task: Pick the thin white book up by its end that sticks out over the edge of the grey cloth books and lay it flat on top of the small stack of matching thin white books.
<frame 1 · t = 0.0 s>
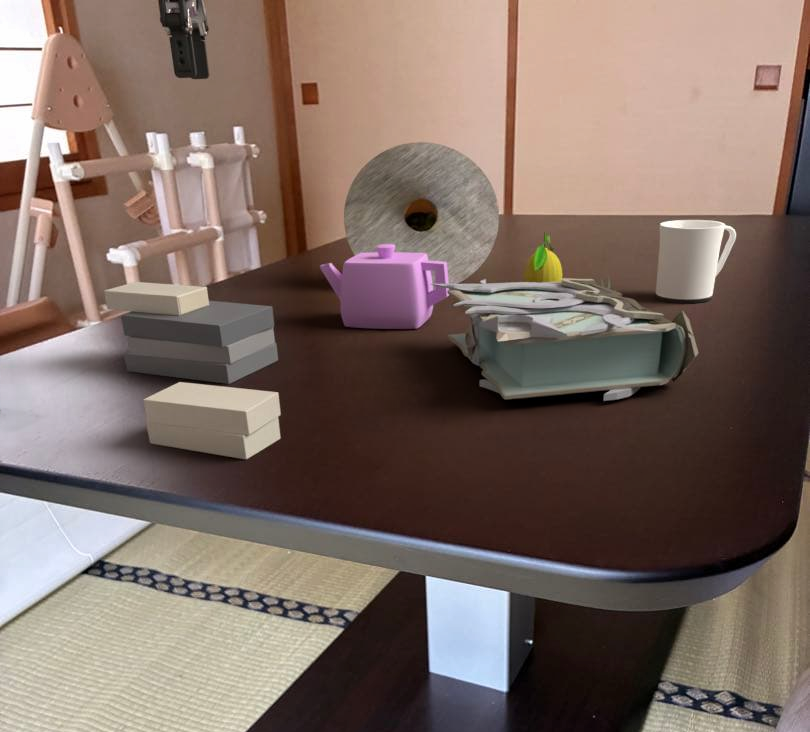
hand: (193, 78, 92), 30 cm above the table, tool pointing down, fingers open, 8 cm apart
white book: (158, 307, 100), point 7 cm above the table, touching grey stack
lemon: (541, 303, 125), on the table
teapot: (386, 322, 118), on the table
disc: (424, 281, 143), on the table
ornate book: (548, 368, 96), on the table
mug: (690, 298, 124), on the table
grey stack: (203, 365, 101), on the table
white stack: (215, 441, 78), on the table
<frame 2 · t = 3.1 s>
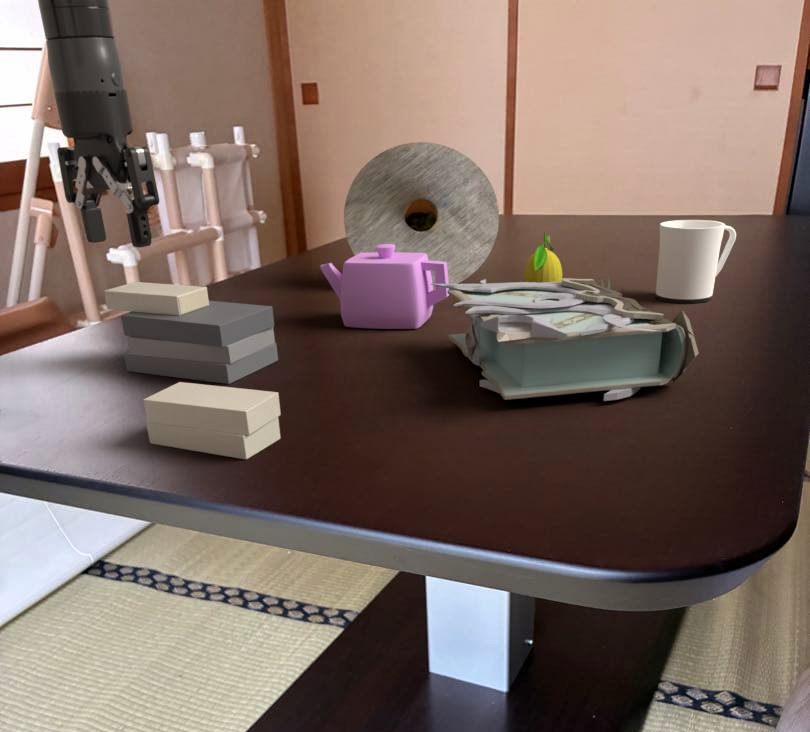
hand: (119, 244, 98), 14 cm above the table, tool pointing down, fingers open, 8 cm apart
nothing on the table moved.
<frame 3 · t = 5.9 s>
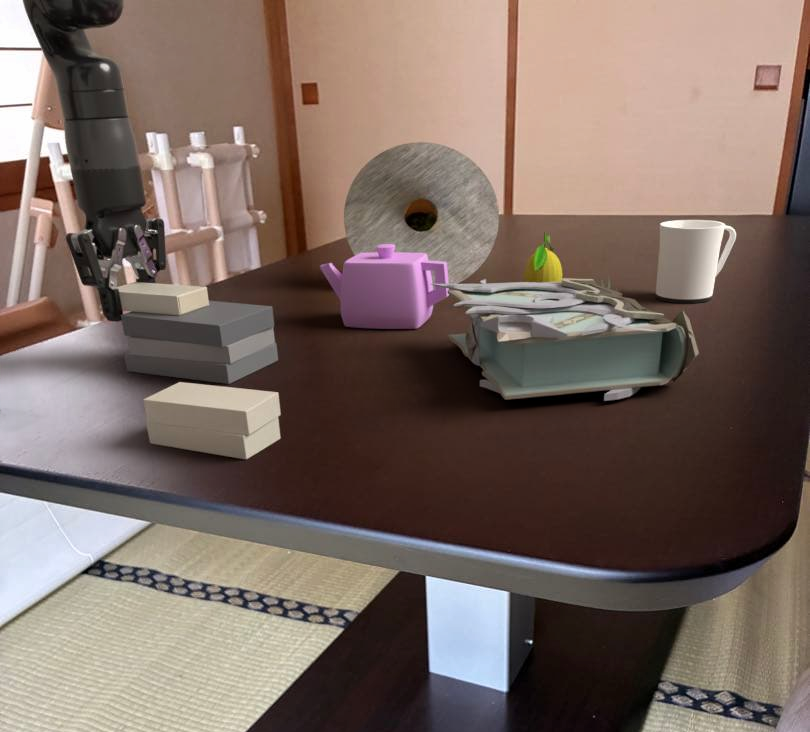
hand: (133, 314, 102), 6 cm above the table, tool pointing down, fingers closed on white book, 5 cm apart
white book: (158, 307, 100), point 7 cm above the table, touching grey stack, gripper
everything else where it was.
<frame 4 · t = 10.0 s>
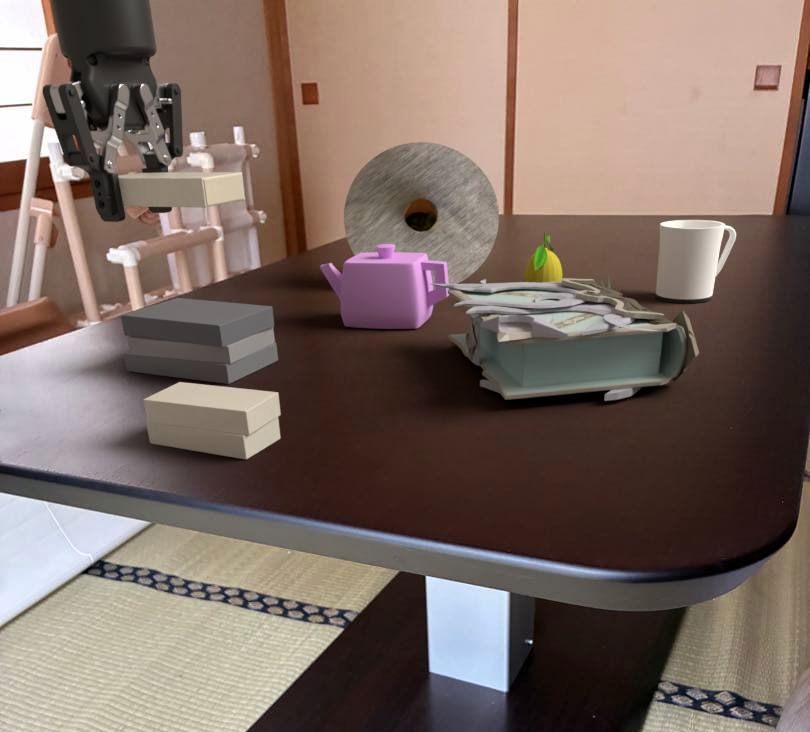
hand: (138, 215, 74), 19 cm above the table, tool pointing down, fingers closed on white book, 5 cm apart
white book: (173, 203, 72), point 20 cm above the table, touching gripper
everything else where it was.
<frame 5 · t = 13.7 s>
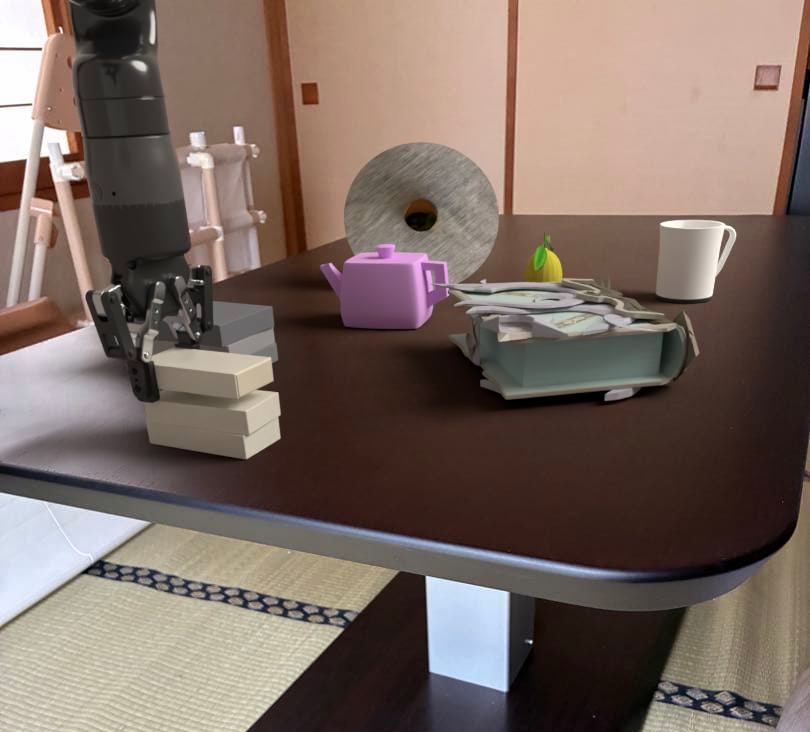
hand: (171, 390, 78), 4 cm above the table, tool pointing down, fingers closed on white book, 5 cm apart
white book: (206, 383, 75), point 6 cm above the table, touching gripper
everything else where it was.
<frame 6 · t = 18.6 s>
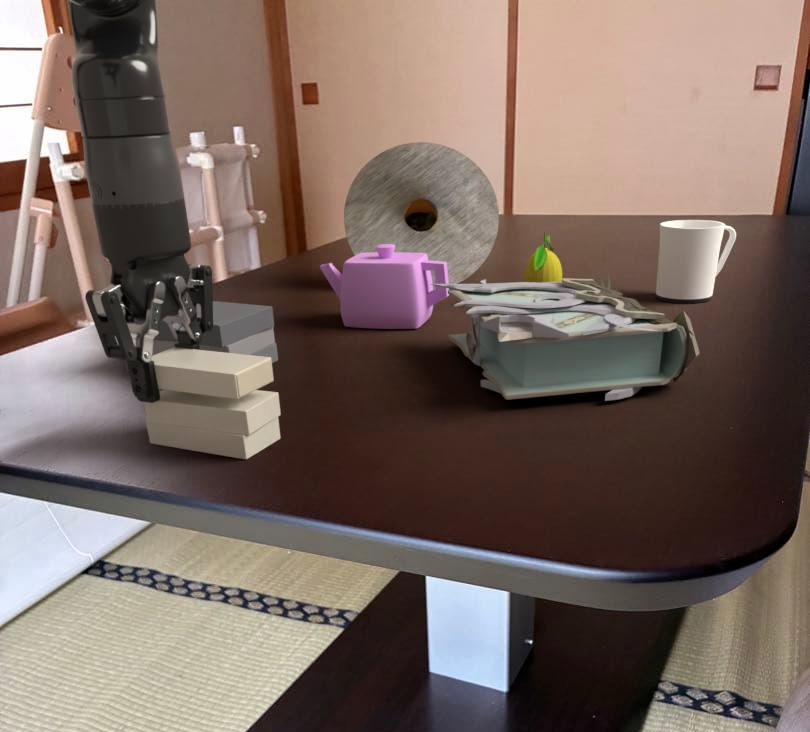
hand: (171, 390, 78), 4 cm above the table, tool pointing down, fingers closed on white book, 5 cm apart
white book: (206, 383, 76), point 6 cm above the table, touching gripper
everything else where it was.
when the fingers open (6 cm above the table, at t = 22.9 s): white book drops 2 cm, resting on white stack.
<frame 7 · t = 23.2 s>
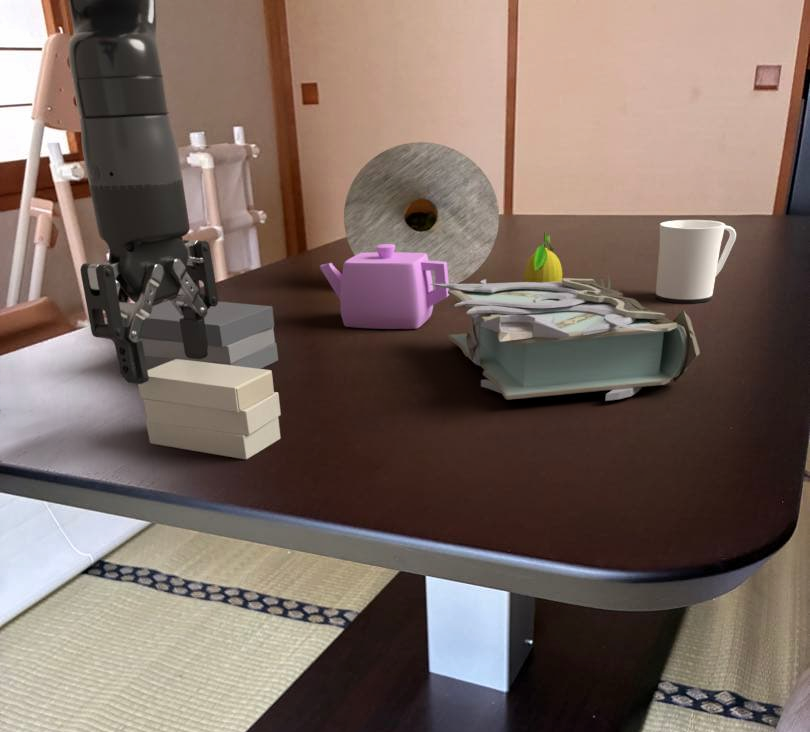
hand: (168, 369, 77), 6 cm above the table, tool pointing down, fingers open, 8 cm apart
white book: (207, 395, 76), point 4 cm above the table, touching white stack
everything else where it was.
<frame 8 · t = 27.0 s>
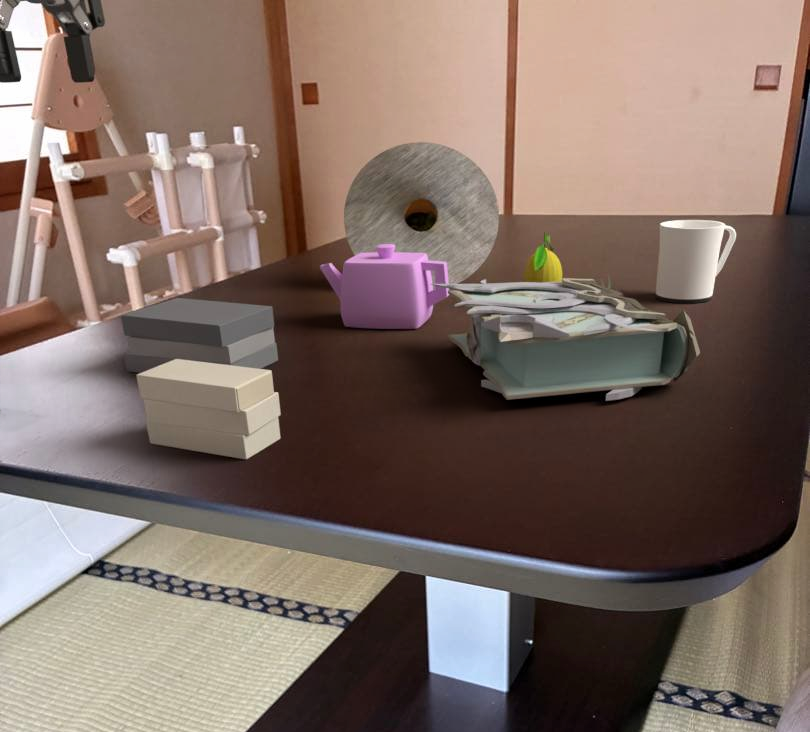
hand: (48, 82, 75), 30 cm above the table, tool pointing down, fingers open, 8 cm apart
nothing on the table moved.
at the end: white book 0.1 cm off-centre on the white stack, point 4.4 cm above the white stack's base; white book tilted 0°; white book touching white stack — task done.
